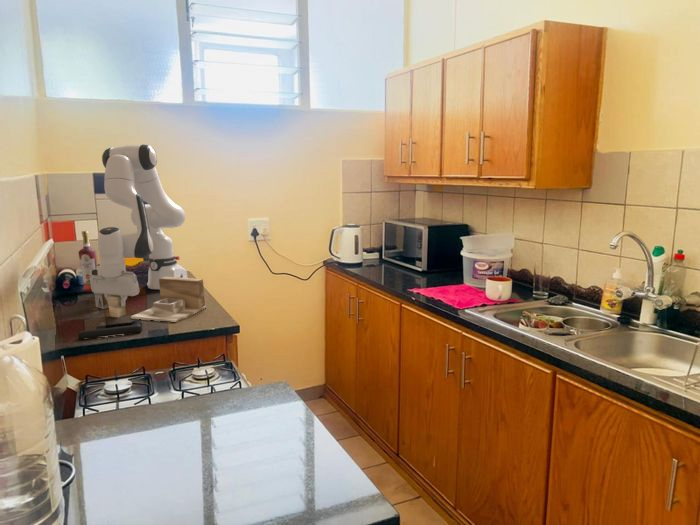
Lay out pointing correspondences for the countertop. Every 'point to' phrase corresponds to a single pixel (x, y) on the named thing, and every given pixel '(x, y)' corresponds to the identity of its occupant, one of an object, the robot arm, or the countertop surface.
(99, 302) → the coffee box
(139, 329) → the door handle
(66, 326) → the countertop surface
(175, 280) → the wooden stand
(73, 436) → the countertop surface
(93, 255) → the liquor
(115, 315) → the maple peg
